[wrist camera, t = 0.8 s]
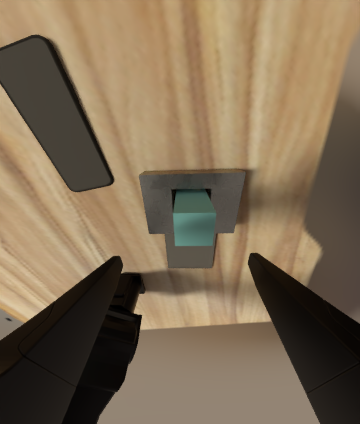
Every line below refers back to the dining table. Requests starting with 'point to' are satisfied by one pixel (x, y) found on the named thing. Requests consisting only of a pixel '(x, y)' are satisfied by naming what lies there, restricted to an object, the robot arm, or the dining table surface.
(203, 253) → the dark gray square pad
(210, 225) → the teal square block
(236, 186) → the gray rectangular frame
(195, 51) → the dining table surface
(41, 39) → the smartphone
